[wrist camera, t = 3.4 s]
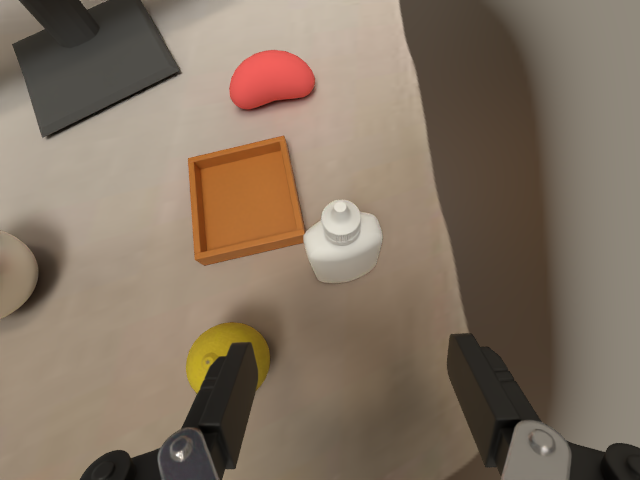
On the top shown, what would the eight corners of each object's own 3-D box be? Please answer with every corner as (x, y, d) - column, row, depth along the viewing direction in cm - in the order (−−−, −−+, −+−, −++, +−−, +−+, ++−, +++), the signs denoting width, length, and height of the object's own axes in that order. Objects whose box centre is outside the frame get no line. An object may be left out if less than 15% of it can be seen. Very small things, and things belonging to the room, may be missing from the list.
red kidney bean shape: (251, 83, 39) (215, 59, 34) (315, 54, 35) (286, 22, 30) (258, 123, 39) (222, 107, 34) (322, 98, 35) (294, 75, 30)
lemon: (288, 338, 27) (264, 331, 20) (265, 406, 25) (230, 427, 18) (231, 318, 28) (187, 305, 21) (206, 382, 26) (148, 394, 19)
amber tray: (307, 241, 30) (304, 234, 28) (204, 265, 30) (194, 259, 28) (287, 147, 34) (284, 135, 32) (196, 168, 34) (187, 158, 32)
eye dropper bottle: (321, 236, 30) (302, 165, 19) (379, 248, 29) (397, 182, 18) (309, 279, 29) (282, 231, 17) (369, 294, 28) (382, 253, 16)
